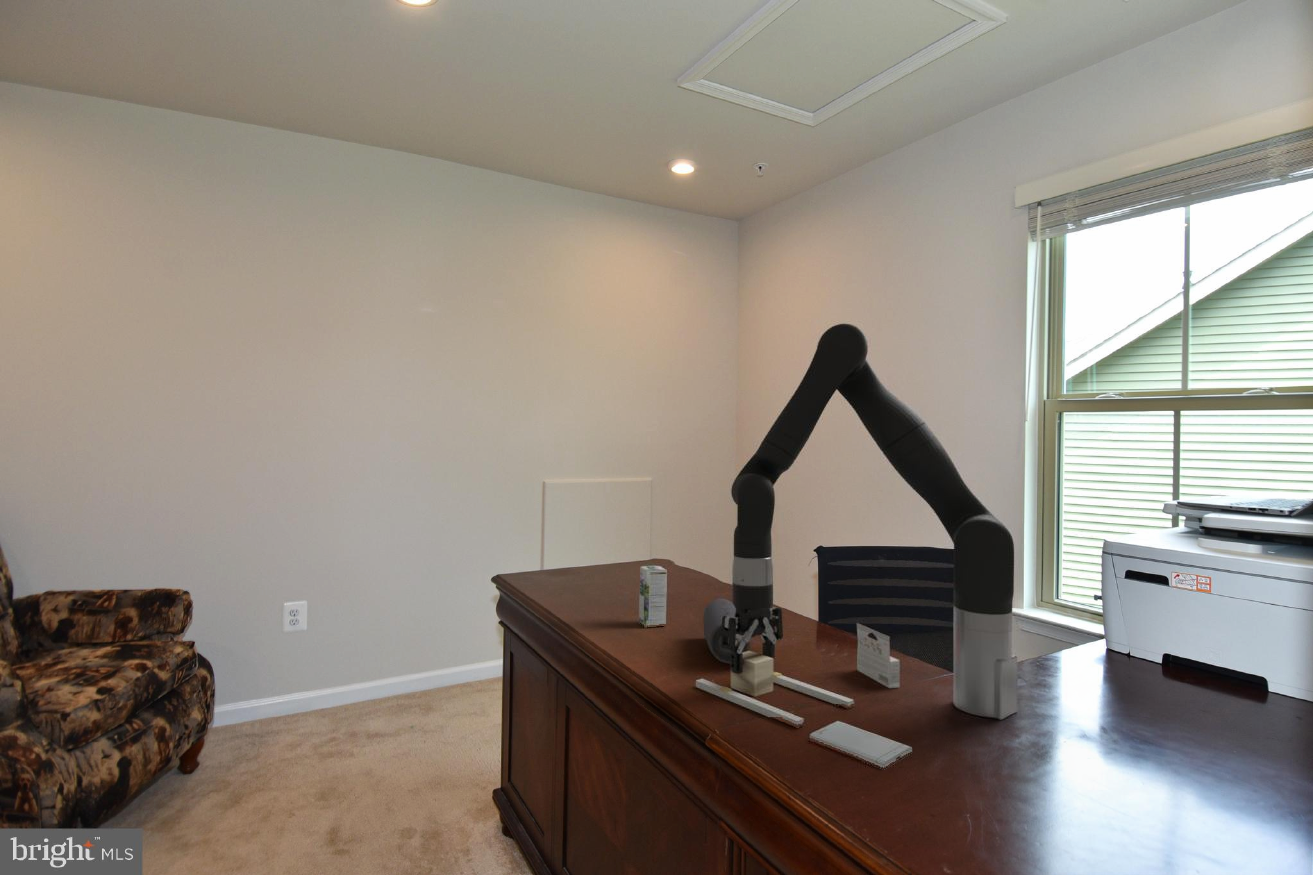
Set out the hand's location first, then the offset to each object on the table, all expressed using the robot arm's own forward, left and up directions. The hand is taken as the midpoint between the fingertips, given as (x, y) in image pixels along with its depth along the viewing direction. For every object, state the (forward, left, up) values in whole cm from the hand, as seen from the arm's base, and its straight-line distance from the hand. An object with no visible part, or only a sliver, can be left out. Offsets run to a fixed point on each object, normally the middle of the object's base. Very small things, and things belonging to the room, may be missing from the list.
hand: (752, 668), depth 126 cm
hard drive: (-26, +5, -5) cm, 27 cm away
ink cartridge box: (-11, -24, -4) cm, 27 cm away
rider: (0, 0, -4) cm, 4 cm away
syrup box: (+47, -14, -4) cm, 50 cm away
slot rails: (-5, 0, -4) cm, 6 cm away
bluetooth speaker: (+19, -12, -4) cm, 23 cm away
